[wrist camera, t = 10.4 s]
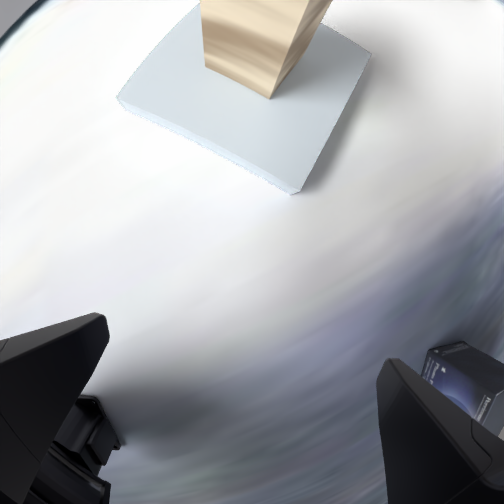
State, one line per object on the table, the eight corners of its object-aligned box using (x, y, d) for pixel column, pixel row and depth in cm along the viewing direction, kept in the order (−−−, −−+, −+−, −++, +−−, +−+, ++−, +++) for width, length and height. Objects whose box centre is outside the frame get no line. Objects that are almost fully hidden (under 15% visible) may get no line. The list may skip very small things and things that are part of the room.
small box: (424, 348, 22) (497, 394, 12) (462, 339, 23) (529, 372, 12) (398, 430, 23) (447, 484, 13) (437, 415, 24) (486, 457, 13)
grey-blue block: (288, 196, 20) (299, 191, 17) (127, 113, 18) (115, 97, 15) (356, 69, 20) (371, 54, 17) (221, 4, 18) (222, -17, 15)
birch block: (269, 99, 16) (328, -44, 4) (205, 66, 15) (196, -79, 4) (303, 55, 16) (370, -65, 4) (244, 25, 15) (266, -101, 3)
